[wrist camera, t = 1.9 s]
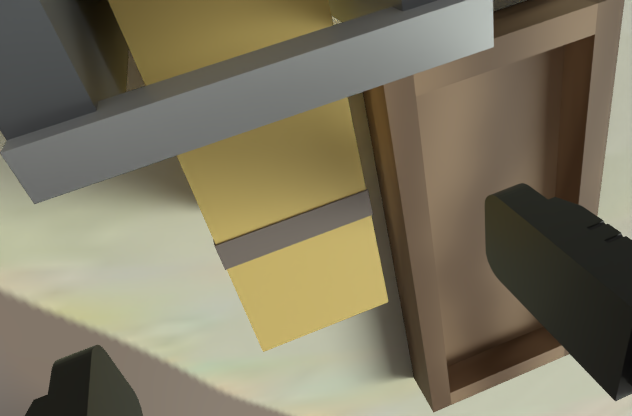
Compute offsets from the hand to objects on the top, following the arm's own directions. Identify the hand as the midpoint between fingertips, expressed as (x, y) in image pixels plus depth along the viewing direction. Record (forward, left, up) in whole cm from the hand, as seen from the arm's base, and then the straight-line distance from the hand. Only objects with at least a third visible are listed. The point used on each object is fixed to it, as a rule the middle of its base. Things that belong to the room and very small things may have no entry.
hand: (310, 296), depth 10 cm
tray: (-9, +8, -9) cm, 15 cm away
